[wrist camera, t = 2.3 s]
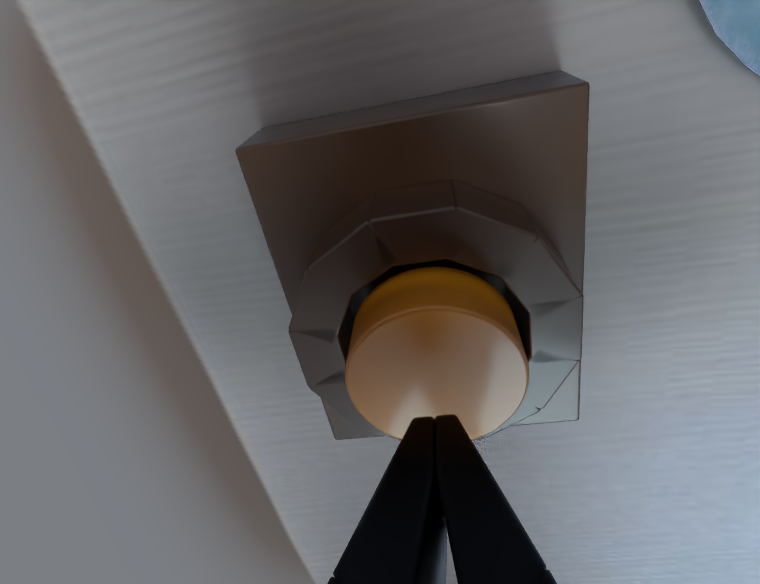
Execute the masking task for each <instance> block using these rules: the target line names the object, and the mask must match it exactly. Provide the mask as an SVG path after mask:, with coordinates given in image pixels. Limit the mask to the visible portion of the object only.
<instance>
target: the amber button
mask: <svg viewBox="0 0 760 584" xmlns="http://www.w3.org/2000/svg"><path fill="white" fill-rule="evenodd" d="M345 383H346V388H347V391H348V394H349V396H350V399H351V401H352V403H353V404H354V406H355V408H356V409H357V410H358V412H359V413H360V414H361V415H362V416H363V417H364V418H365V419H366V420H367V421H368V422H369V423H370V424H372V425H373V426H374V427H376V428H377V429H379V430H380V431H382V432H384V433H386V434H388V435H390V436H392V437H395V438H398V439H400V440H402V438H403V436H404V434H405V432H406V430H407V428H408V427H409V425H410V423H411V421H412V419H414V418H416V417H426V416H432V417H434V419H435V417H436V416H438V415H449V414H454V415H456V416H457V417H458V419H459V420H460V422H461V424H462V425H463V427H464V429H465V430H466V432H467V434H468V435H469V437H470V439H471V440H474V439H477V438H479V437H482V436H484V435H486V434H488V433H490V432H492V431H494V430H495V429H497V428H498V427H500V426H501V425H503V424H504V423H505V422H506V421H507V420H508V419H509V418H511V417H512V416H513V414H514V413H515V412H516V411H517V409H518V408H519V406H520V405H521V403H522V401H523V399H524V397H525V394H526V392H527V388H528V384H529V365H528V360H527V357H526V354H525V351H524V347H523V344H522V341H521V338H520V334H519V331H518V328H517V325H516V322H515V318H514V315H513V312H512V310H511V308H510V306H509V304H508V302H507V301H506V300H505V298H504V297H503V295H502V294H501V293H500V292H499V291H498V290H497V289H496V288H495V287H493V286H492V285H491V284H489V283H488V282H487V281H485V280H483V279H481V278H480V277H478V276H476V275H473V274H471V273H469V272H466V271H462V270H459V269H454V268H448V267H422V268H417V269H411V270H408V271H405V272H402V273H399V274H397V275H395V276H393V277H390V278H389V279H387V280H386V281H384V282H382V283H381V284H380V285H378V286H377V287H376V288H375V289H373V290H372V291H371V292H370V294H369V295H368V296H367V297H366V298H365V300H364V301H363V302H362V304H361V305H360V307H359V310H358V312H357V314H356V317H355V321H354V325H353V330H352V335H351V340H350V345H349V350H348V355H347V360H346V366H345Z"/></svg>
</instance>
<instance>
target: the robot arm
mask: <svg viewBox="0 0 760 584" xmlns="http://www.w3.org/2000/svg"><path fill="white" fill-rule="evenodd" d="M447 532H448V537H449V542H450V547H451V552H452V557H453V562H454V567H455V572H456V577H457V582H458V584H557V583H556V581H555V579H554V578H553V576H552V574H551V573H550V571H549V570H546V565H545V563H544V561H543V560H542V558H541V556H540V555H539V553H538V551H537V550H536V548H535V546H534V544H533V543H532V541H531V539H530V538H529V536H528V534H527V533H526V531H525V529H524V528H523V526H522V524H521V523H520V521H519V519H518V518H517V516H516V514H515V513H514V511H513V509H512V508H511V506H510V504H509V502H508V501H507V499H506V497H505V496H504V494H503V492H502V491H501V489H500V487H499V486H498V484H497V482H496V481H495V479H494V477H493V476H492V474H491V472H490V471H489V469H488V467H487V466H486V464H485V462H484V460H483V459H482V457H481V455H480V454H479V452H478V450H477V449H476V447H475V445H474V444H473V442H472V440H471V439H470V437H469V435H468V434H467V432H466V430H465V429H464V427H463V425H462V424H461V422H460V420H459V419H458V417H457V416H456V415H454V414H449V415H438V416H436V417H435V419H434V417H432V416H426V417H416V418H414V419H412V421H411V423H410V425H409V427H408V428H407V430H406V432H405V434H404V436H403V438H402V440H401V442H400V444H399V446H398V448H397V450H396V452H395V454H394V456H393V458H392V460H391V462H390V463H389V465H388V467H387V469H386V471H385V473H384V475H383V477H382V479H381V481H380V483H379V485H378V487H377V489H376V491H375V493H374V495H373V497H372V498H371V500H370V502H369V504H368V506H367V508H366V510H365V512H364V514H363V516H362V518H361V520H360V522H359V524H358V526H357V528H356V530H355V531H354V533H353V535H352V537H351V539H350V541H349V543H348V545H347V547H346V549H345V551H344V553H343V555H342V557H341V559H340V561H339V563H338V565H337V566H336V568H335V570H334V572H333V575H334V577H335V578H334V577H331V578H330V580H329V582H328V584H446V563H447Z"/></svg>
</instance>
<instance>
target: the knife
mask: <svg viewBox="0 0 760 584" xmlns="http://www.w3.org/2000/svg"><path fill="white" fill-rule="evenodd" d="M699 2H700V4H701V6H702V8H703V10H704V12H705V14H706V16H707V18H708V20H709V22H710V24H711V26H712V28H713V30H714V32H715V34H716V35H717V36H718V37H719V38H720V39H721V40H722V41H723V42H724V43H725V45H726V46H727V47H728V48H729V49H730V50H731V51H732V52H733V53H734V54H735V55H736V56H737V57H738V58H739V59H740V60H741V62H742V63H743V64H744V65H745V66H746V67H747V68H749V69H750V70H752V71H753V72H754V73H756V74H757V75H759V76H760V0H699Z"/></svg>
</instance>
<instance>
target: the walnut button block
mask: <svg viewBox="0 0 760 584" xmlns="http://www.w3.org/2000/svg"><path fill="white" fill-rule="evenodd" d="M589 90H590V85H589V83H588V82H586V81H584V80H582V79H579V78H577V77H575V76H573V75H570V74H568V73H566V72H564V71H555V72H550V73H545V74H539V75H534V76H529V77H524V78H519V79H514V80H509V81H503V82H498V83H493V84H488V85H483V86H478V87H472V88H467V89H462V90H457V91H452V92H447V93H442V94H436V95H431V96H426V97H421V98H416V99H411V100H406V101H400V102H395V103H390V104H385V105H380V106H375V107H369V108H364V109H359V110H354V111H349V112H344V113H339V114H333V115H328V116H323V117H318V118H313V119H308V120H303V121H297V122H292V123H287V124H282V125H277V126H272V127H266V128H262V129H261V130H259V131H258V132H257V133H255V134H254V135H253V136H252V137H250V138H249V139H248V140H247V141H245V142H244V143H243V144H242V145H240V146H239V147H238V148H237V149H236V155H237V157H238V160H239V163H240V166H241V169H242V172H243V175H244V178H245V180H246V183H247V186H248V189H249V192H250V195H251V198H252V201H253V204H254V206H255V209H256V212H257V215H258V218H259V221H260V224H261V227H262V230H263V232H264V235H265V238H266V241H267V244H268V247H269V250H270V253H271V255H272V258H273V261H274V264H275V267H276V270H277V273H278V276H279V279H280V281H281V284H282V287H283V290H284V293H285V296H286V299H287V302H288V305H289V307H290V310H291V313H292V318H291V321H290V325H289V335H290V337H291V340H292V343H293V346H294V349H295V351H296V354H297V357H298V360H299V363H300V365H301V368H302V371H303V374H304V376H305V379H306V382H307V385H308V386H309V388H310V389H311V390H312V391H314V392H315V393H316V394H317V395H318V396H320V397H321V400H322V403H323V405H324V408H325V411H326V414H327V417H328V420H329V423H330V426H331V429H332V431H333V434H334V437H335V439H336V440H341V439H354V438H366V437H378V436H389V437H392V436H390V435H388V434H386V433H384V432H382V431H380V430H379V429H377V428H376V427H374V426H373V425H372V424H370V423H369V422H368V421H367V420H366V419H365V418H364V417H363V416H362V415H361V414H360V413H359V412H358V410H357V409H356V408H355V406H354V404H353V403H352V401H351V399H350V396H349V394H348V391H347V388H346V383H345V366H346V360H347V355H348V350H349V345H350V340H351V335H352V330H353V325H354V321H355V317H356V314H357V312H358V310H359V307H360V305H361V304H362V302H363V301H364V300H365V298H366V297H367V296H368V295H369V294H370V292H371V291H372V290H373V289H375V288H376V287H377V286H378V285H380V284H381V283H382V282H384V281H386V280H387V279H389V278H390V277H393V276H395V275H397V274H399V273H402V272H405V271H408V270H411V269H417V268H422V267H448V268H454V269H459V270H462V271H466V272H469V273H471V274H473V275H476V276H478V277H480V278H481V279H483V280H485V281H487V282H488V283H489V284H491V285H492V286H493V287H495V288H496V289H497V290H498V291H499V292H500V293H501V294H502V295H503V297H504V298H505V300H506V301H507V302H508V304H509V306H510V308H511V310H512V312H513V315H514V318H515V322H516V325H517V328H518V331H519V334H520V338H521V341H522V344H523V347H524V351H525V354H526V357H527V360H528V365H529V384H528V388H527V392H526V394H525V397H524V399H523V401H522V403H521V405H520V406H519V408H518V409H517V411H516V412H515V413H514V414H513V416H512V417H511V418H509V419H508V420H507V421H506V422H505V423H504V424H503V425H501V426H500V427H498V428H497V429H495V430H494V431H492V432H490V433H488V434H486V435H484V436H482V437H479V438H477V439H474V440H479V439H482V438H486V437H488V436H490V435H493V434H495V433H497V432H499V431H501V430H503V429H505V428H507V427H509V426H513V425H525V424H538V423H550V422H562V421H575V420H578V419H579V405H580V374H581V357H582V327H583V279H584V248H585V216H586V185H587V153H588V122H589ZM392 438H395V437H392ZM396 439H398V438H396ZM399 440H400V439H399Z"/></svg>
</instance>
